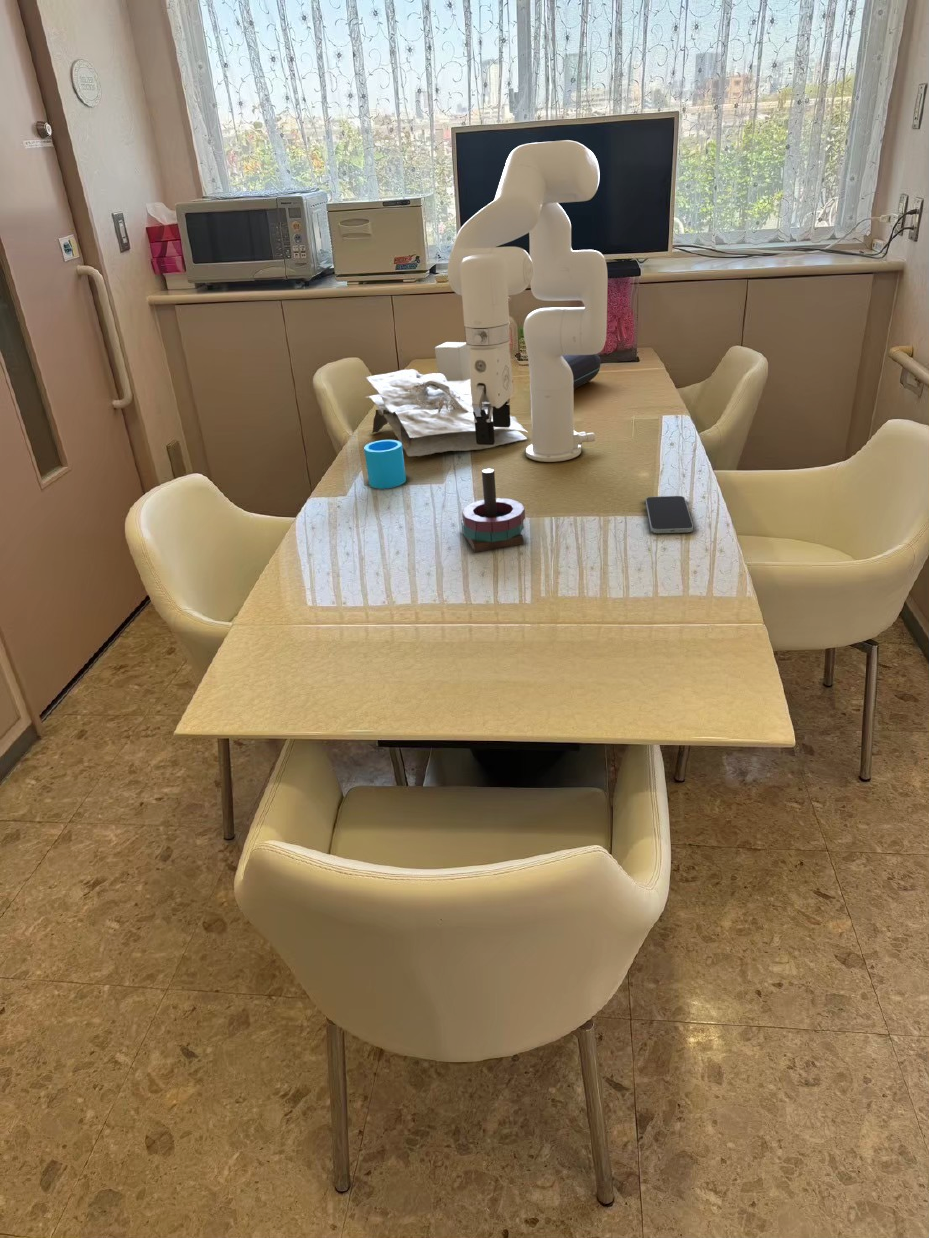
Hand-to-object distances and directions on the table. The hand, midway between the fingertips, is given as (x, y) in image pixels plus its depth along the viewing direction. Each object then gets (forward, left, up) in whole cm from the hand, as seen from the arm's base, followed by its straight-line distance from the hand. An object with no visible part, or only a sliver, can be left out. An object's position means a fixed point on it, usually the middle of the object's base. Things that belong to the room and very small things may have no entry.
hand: (494, 435), depth 146 cm
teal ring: (+2, +3, -16) cm, 17 cm away
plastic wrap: (-3, -62, -18) cm, 65 cm away
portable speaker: (-44, -87, -18) cm, 99 cm away
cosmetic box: (-13, -92, -18) cm, 95 cm away
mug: (+15, -36, -18) cm, 43 cm away
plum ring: (+2, +4, -14) cm, 15 cm away
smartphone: (-30, +8, -18) cm, 36 cm away
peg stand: (+2, +4, -18) cm, 19 cm away
